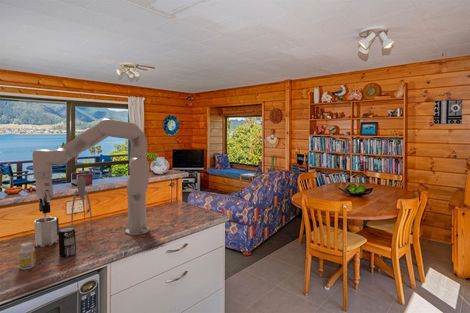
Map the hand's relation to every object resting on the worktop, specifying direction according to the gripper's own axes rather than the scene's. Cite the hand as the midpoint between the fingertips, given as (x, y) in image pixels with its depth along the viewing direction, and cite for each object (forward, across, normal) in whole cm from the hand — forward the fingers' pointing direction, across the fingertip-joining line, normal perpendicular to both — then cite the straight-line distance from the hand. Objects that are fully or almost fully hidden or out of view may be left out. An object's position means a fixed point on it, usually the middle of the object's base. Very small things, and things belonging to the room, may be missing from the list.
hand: (44, 211), depth 142 cm
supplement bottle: (+16, -22, +13) cm, 30 cm away
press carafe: (+16, +1, -1) cm, 16 cm away
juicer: (+16, +9, -22) cm, 29 cm away
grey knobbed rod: (+14, 0, 0) cm, 14 cm away
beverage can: (+16, -22, -2) cm, 27 cm away
